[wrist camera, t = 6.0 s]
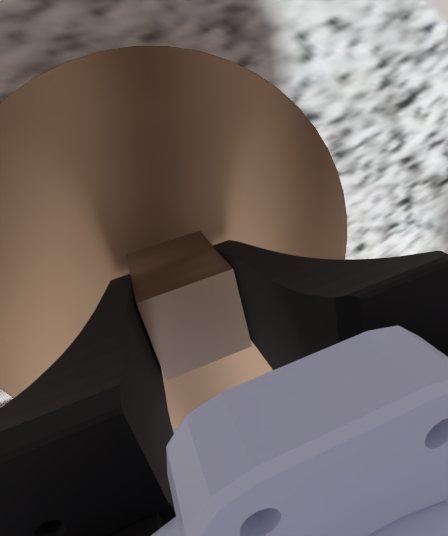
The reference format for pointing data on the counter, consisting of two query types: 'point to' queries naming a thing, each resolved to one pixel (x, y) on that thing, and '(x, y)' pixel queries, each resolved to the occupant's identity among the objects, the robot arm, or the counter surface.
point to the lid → (153, 208)
